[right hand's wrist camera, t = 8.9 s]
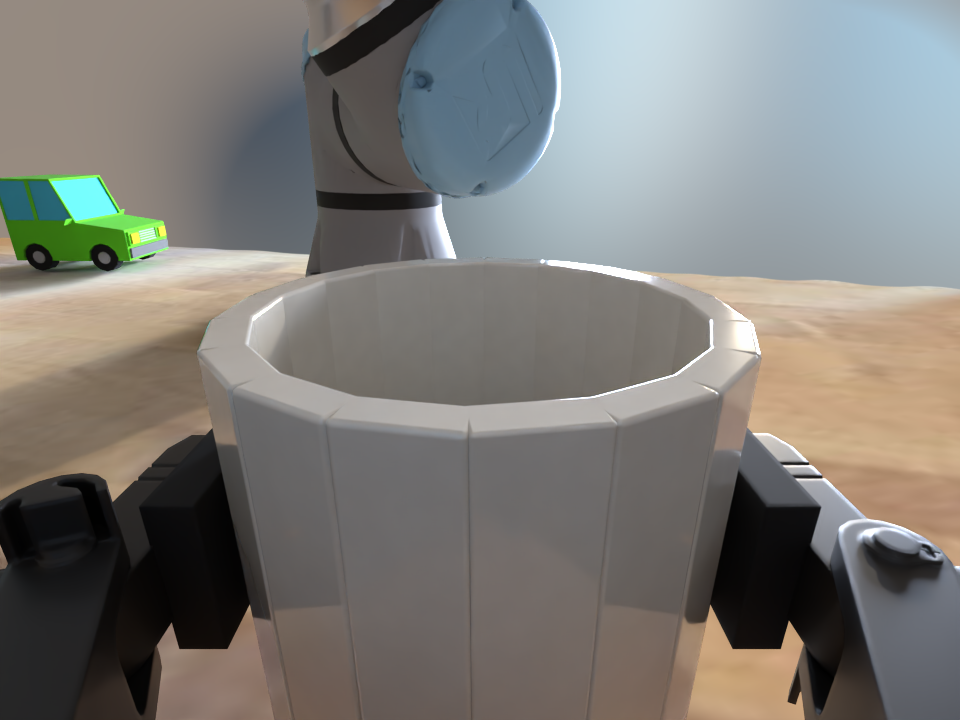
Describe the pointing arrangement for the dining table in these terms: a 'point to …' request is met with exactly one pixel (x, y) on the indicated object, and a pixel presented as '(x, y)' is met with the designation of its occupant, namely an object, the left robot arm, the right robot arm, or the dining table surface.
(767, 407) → the dining table surface
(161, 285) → the dining table surface
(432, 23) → the left robot arm
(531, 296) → the cup
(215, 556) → the right robot arm
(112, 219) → the toy car
